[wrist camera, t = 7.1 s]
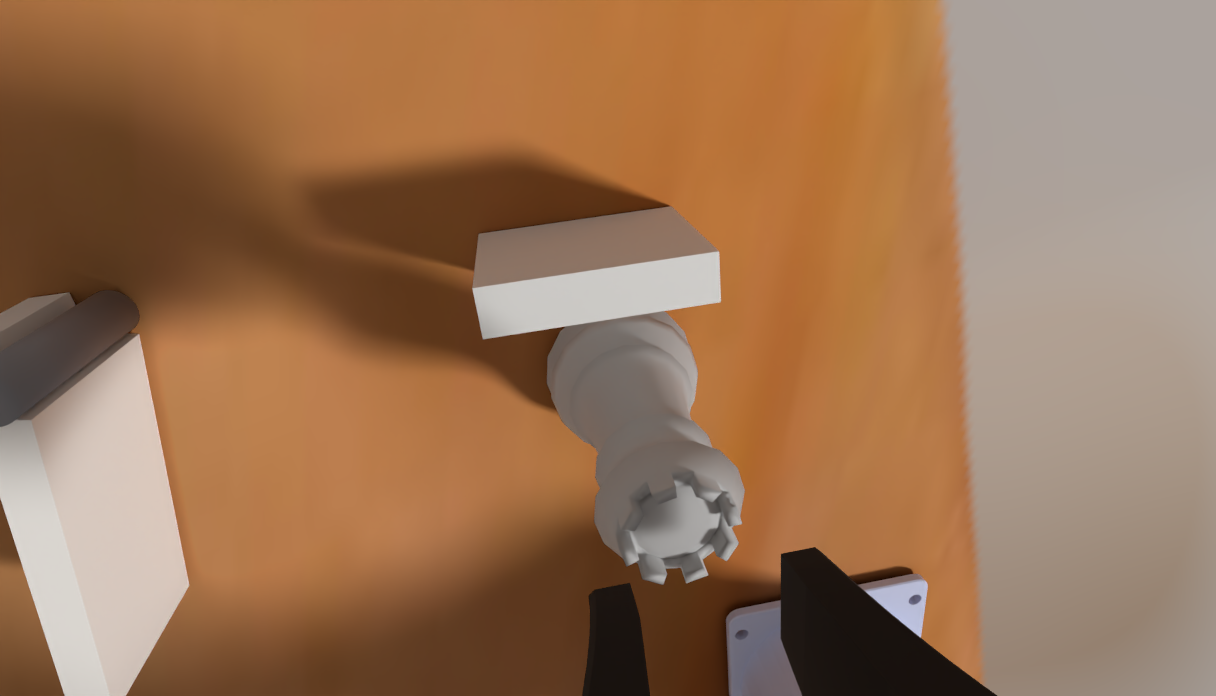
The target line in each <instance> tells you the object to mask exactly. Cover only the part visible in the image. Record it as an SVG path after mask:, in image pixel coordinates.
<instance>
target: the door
mask: <svg viewBox="0 0 1216 696" xmlns="http://www.w3.org/2000/svg"><path fill="white" fill-rule="evenodd" d="M138 322H139V310H138V308H137V306H136V304H135V303H134V302H133V301H132V300H131V299H130V298H129V297H127V296H126V295H124V294H122V293H120V292H117V291H113V290H103V291H99V292H97V293H95V294H93V295H92V296H90V297H88V298H87V299H85V300H83V301H82V302H80V303H79V304H77V305H75V306H74V307H72V308H70V309H69V310H67V311H66V312H64V313H62V314H61V315H59V316H57V317H56V318H54V319H53V320H51V321H49V322H48V323H46V324H44V325H43V326H41V327H40V328H38V329H36V330H35V331H33V332H31V333H30V334H28V335H26V336H25V337H23V338H22V339H20V340H18V341H17V342H15V343H13V344H12V345H10V346H9V347H7V348H5V349H4V350H2V351H0V499H1V502H2V505H3V508H4V511H5V514H6V517H7V520H8V523H9V526H10V529H11V532H12V536H13V539H14V542H15V545H16V548H17V551H18V554H19V557H20V560H21V563H22V566H23V569H24V572H25V575H26V579H27V582H28V585H29V588H30V591H31V594H32V597H33V600H34V603H35V606H36V609H37V612H38V615H39V618H40V621H41V625H42V628H43V631H44V634H45V637H46V640H47V643H48V646H49V649H50V652H51V655H52V658H53V661H54V664H55V668H56V671H57V674H58V677H59V680H60V683H61V686H62V689H63V692H64V695H65V696H126V695H127V693H128V691H129V689H130V688H131V686H132V684H133V682H134V681H135V679H136V677H137V675H138V674H139V672H140V670H141V669H142V667H143V665H144V663H145V662H146V660H147V658H148V656H149V655H150V653H151V651H152V649H153V648H154V646H155V644H156V642H157V641H158V639H159V637H160V635H161V634H162V632H163V630H164V629H165V627H166V625H167V623H168V622H169V620H170V618H171V616H172V615H173V613H174V611H175V609H176V608H177V606H178V604H179V602H180V601H181V599H182V597H183V596H184V594H185V592H186V590H187V589H188V587H189V581H188V576H187V571H186V566H185V561H184V556H183V551H182V546H181V541H180V536H179V531H178V526H177V521H176V516H175V511H174V506H173V501H172V496H171V491H170V486H169V481H168V476H167V471H166V466H165V461H164V456H163V451H162V446H161V441H160V436H159V431H158V426H157V421H156V416H155V411H154V406H153V401H152V396H151V391H150V386H149V381H148V376H147V371H146V366H145V361H144V356H143V351H142V346H141V341H140V336H139V334H131V333H128V332H130V331H131V330H132V329H134V328H135V327H136V326H137V324H138Z"/></svg>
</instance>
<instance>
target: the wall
mask: <svg viewBox="0 0 1216 696" xmlns="http://www.w3.org/2000/svg"><path fill="white" fill-rule="evenodd" d="M472 289H473V294H474V299H475V304H476V308H477V313H478V318H479V323H480V328H481V333H482V337H483V339H489V338H495V337H501V336H508V335H514V334H520V333H527V332H533V331H540V330H546V329H552V328H559V327H565V326H571V325H578V324H584V323H591V322H597V321H603V320H610V319H616V318H622V317H629V316H635V315H642V314H648V313H654V312H661V311H667V310H673V309H680V308H686V307H693V306H699V305H705V304H712V303H718V302H721V291H720V263H719V251H718V250H717V249H716V248H715V247H714V246H713V245H712V244H711V243H710V242H709V241H708V240H707V239H706V238H704V237H703V236H702V235H701V234H700V233H699V232H698V231H697V230H696V229H695V228H694V227H693V226H692V225H691V224H690V223H689V222H688V221H687V220H685V219H684V218H683V217H682V216H681V215H680V214H679V213H678V212H677V211H676V210H675V209H674V208H673V207H672V206H670V207H663V208H656V209H649V210H642V211H635V212H628V213H621V214H614V215H607V216H600V217H593V218H586V219H579V220H572V221H565V222H558V223H551V224H544V225H537V226H530V227H523V228H516V229H509V230H502V231H495V232H488V233H481V234H479V235H478V243H477V252H476V261H475V270H474V278H473V287H472ZM74 306H75V303H74V301H73V299H72V297H71V295H70V293H69V292H68V293H61V294H54V295H47V296H40V297H33V298H28V299H26V300H24V301H22V302H20V303H19V304H17V305H15V306H13V307H11V308H9V309H7V310H5V311H4V312H2V313H0V351H2V350H4V349H5V348H7V347H9V346H10V345H12V344H13V343H15V342H17V341H18V340H20V339H22V338H23V337H25V336H26V335H28V334H30V333H31V332H33V331H35V330H36V329H38V328H40V327H41V326H43V325H44V324H46V323H48V322H49V321H51V320H53V319H54V318H56V317H57V316H59V315H61V314H62V313H64V312H66V311H67V310H69V309H70V308H72V307H74Z"/></svg>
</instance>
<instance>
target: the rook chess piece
mask: <svg viewBox="0 0 1216 696" xmlns="http://www.w3.org/2000/svg"><path fill="white" fill-rule="evenodd" d="M697 377H698V369H697V366H696V363H695V360H694V356H693V353H692V350H691V347H690V345H689V344H688V342H687V338H686V335H685V332H684V331H683V330H682V329H681V328H680V327H679V326H678V325H677V323H676V322H675V321H674V320H673V319H672V318H671V317H670V316H669V315H668V314H667V313H666V312H664V311H661V312H654V313H648V314H642V315H635V316H629V317H622V318H616V319H610V320H603V321H597V322H591V323H584V324H578V325H571V326H566V327H565V328H564V329H563V330H561V331H560V333H559V335H558V337H557V339H556V341H555V343H554V345H553V347H552V349H551V351H550V353H549V355H548V360H547V385H548V387H549V390H550V392H551V398H552V400H553V402H554V405H555V407H556V409H557V412H558V414H559V416H560V418H561V421H562V422H563V423H564V424H565V425H566V426H567V427H568V428H569V429H570V430H571V431H572V432H574V433H575V434H576V435H577V436H578V437H579V438H580V439H582V440H583V441H584V442H586V443H589V444H591V445H592V446H593V447H594V448H596V450H597V452H598V456H597V461H596V476H595V478H596V480H597V482H598V485H599V487H600V490H599V492H598V493H597V495H596V500H595V515H594V523H595V525H596V527H597V529H598V531H599V534H600V536H601V538H602V540H603V542H604V544H605V545H607V546H608V547H609V548H610V549H612V550H613V551H614V552H615V553H617V554H618V555H619V556H620V557H622V558H623V559H624V562H625V564H626V566H629V565H631V564H633V563H638V565H639V569H640V572H641V576H642V579H644V580H647V581H651V582H654V583H658V584H662V585H663V584H664V581H665V578H666V576H667V572H666V569H669V568H681V570H682V573H683V576H684V578H685V581H686V583H689V582H692V581H694V580H697V579H700V578H702V577H705V576H708V573H707V570H706V568H705V565H704V562H703V559H704V558H705V557H707V556H708V555H709V554H711V553H712V552H713V551H715V553H716V555H717V556H718V557H720V558H722V559H724V560H725V561H727V560H728V559H729V557H730V556H731V554H732V553H733V551H734V550H735V548H736V547H737V545H738V544H739V543H738V541H737V539H736V536H735V534H734V532H733V530H732V527H733V526H735V525H740V524H742V521H741V518H740V514H741V508H742V503H743V497H744V492H745V490H744V487H743V484H742V481H741V477H740V474H739V471H738V468H737V467H736V466H735V465H734V464H733V463H732V462H731V461H730V460H729V459H728V458H727V457H726V456H725V455H724V454H723V453H722V452H721V451H720V450H717V449H714V448H712V446H711V443H710V440H709V437H708V435H707V434H706V433H705V432H704V431H703V430H702V429H701V428H700V427H699V426H698V425H697V424H696V423H695V422H694V421H692V420H691V417H690V410H691V406H692V404H693V402H694V400H695V392H696V385H697Z"/></svg>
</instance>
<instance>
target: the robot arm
mask: <svg viewBox="0 0 1216 696" xmlns="http://www.w3.org/2000/svg"><path fill="white" fill-rule="evenodd" d="M927 588H928V586H927V582H926V581H925V580H924V579H923V577H922V576H921V575H919V574H910V575H904V576H899V577H894V578H889V579H884V580H879V581H874V582H869V583H864V584H859V585H857V584H856V583H855V582H854V581H853V580H852V579H851V578H850V577H848V576H847V575H846V574H845V573H844V572H843V571H842V570H841V569H840V568H838V567H837V566H836V565H835V564H834V563H833V562H832V561H831V560H830V559H828V558H827V557H826V556H825V555H824V554H823V553H822V552H821V551H819V550H818V549H817V548H815V547H814V548H809V549H804V550H799V551H793V552H788V553H783V554H781V600H779V601H774V602H769V603H764V604H759V605H754V606H749V607H744V608H739V609H736V610H733V611H732V612H730V613H729V615H728V616H727V618H726V633H727V657H728V681H729V696H997V695H995V694H994V693H992V692H991V691H990V690H989V689H987V688H986V687H984V686H983V685H982V684H980V683H979V682H978V681H976V680H975V679H974V678H972V677H971V676H969V675H968V674H967V673H965V672H964V671H963V670H961V669H960V668H959V667H957V666H956V665H955V664H953V663H952V662H951V661H949V660H948V659H947V658H946V657H944V656H943V655H942V654H940V653H939V652H938V651H937V650H935V649H934V648H933V647H931V646H930V645H929V644H928V643H926V642H925V641H924V640H923V639H922V638H921V633H922V625H923V618H924V610H925V603H926V595H927ZM589 604H590V636H589V648H588V659H587V667H586V674H585V681H584V687H583V694H582V696H650V692H649V684H648V676H647V669H646V661H645V653H644V646H643V638H642V630H641V623H640V617H639V613H638V610H637V606H636V602H635V599H634V595H633V592H632V589H631V585H630V583H627V584H622V585H617V586H612V587H607V588H601V589H596V590H594V591H593V592H592V593H591V594H590V595H589ZM740 630H741V631H740ZM738 631H739V632H738Z"/></svg>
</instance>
